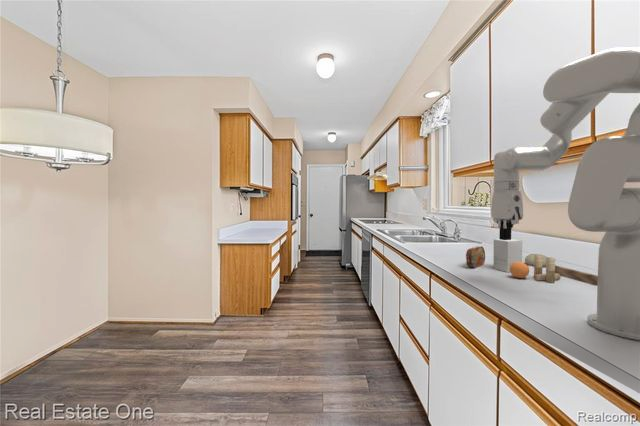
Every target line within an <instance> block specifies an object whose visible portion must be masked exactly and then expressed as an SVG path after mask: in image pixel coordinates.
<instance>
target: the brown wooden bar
mask: <svg viewBox="0 0 640 426" xmlns="http://www.w3.org/2000/svg"><path fill="white" fill-rule="evenodd" d="M555 273H558V274H560V276H562V277H565V278H568V279H573V280H575V281H579V282H583V283H586V284H590V285H593V286H597V285H598V274H597V275H596V274H592V273H588V272H584V271H580V270H577V269H576V270H575V269H571V268H568V267H563V266H559V265H556V264H555Z"/></svg>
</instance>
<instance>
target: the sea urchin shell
mask: <svg viewBox="0 0 640 426" xmlns="http://www.w3.org/2000/svg"><path fill="white" fill-rule="evenodd" d="M534 255H542V256H543V261H542V268H546V258H547V257H548V256H546V255H543V254H541V253H540V254H539V253H538V254H537V253H531V254H528V255H526V257H525V258H524V262H525V264H526V265H527V266H532V267H534Z"/></svg>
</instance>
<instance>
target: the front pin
mask: <svg viewBox="0 0 640 426" xmlns="http://www.w3.org/2000/svg"><path fill="white" fill-rule="evenodd" d="M561 278H562V277H561V276H560V274H558V273H555V281H558V280H561ZM533 279H534V280H535V281H537V282H541V281H542V282H543V281H545V282H546V273H542V274H535V275H534V274H533Z"/></svg>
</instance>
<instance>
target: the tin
mask: <svg viewBox="0 0 640 426" xmlns="http://www.w3.org/2000/svg"><path fill="white" fill-rule="evenodd" d="M465 257H466V258H465V259H466V260H465V261H466V265H467V267H468V268H471V269H478V268H479V267H481V266H483V265H484V264H485V261H486V250H485V248H484V246H474V247H470V248H468V249H467V250H466V253H465Z"/></svg>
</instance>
